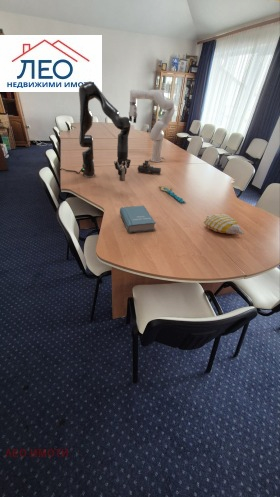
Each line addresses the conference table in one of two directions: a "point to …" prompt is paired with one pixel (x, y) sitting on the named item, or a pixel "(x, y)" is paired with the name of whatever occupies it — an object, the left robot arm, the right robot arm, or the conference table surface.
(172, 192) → the logo
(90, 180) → the conference table surface
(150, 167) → the laser sight
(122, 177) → the tin
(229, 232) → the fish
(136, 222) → the book
